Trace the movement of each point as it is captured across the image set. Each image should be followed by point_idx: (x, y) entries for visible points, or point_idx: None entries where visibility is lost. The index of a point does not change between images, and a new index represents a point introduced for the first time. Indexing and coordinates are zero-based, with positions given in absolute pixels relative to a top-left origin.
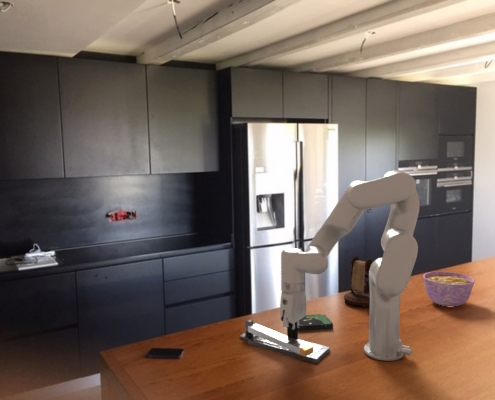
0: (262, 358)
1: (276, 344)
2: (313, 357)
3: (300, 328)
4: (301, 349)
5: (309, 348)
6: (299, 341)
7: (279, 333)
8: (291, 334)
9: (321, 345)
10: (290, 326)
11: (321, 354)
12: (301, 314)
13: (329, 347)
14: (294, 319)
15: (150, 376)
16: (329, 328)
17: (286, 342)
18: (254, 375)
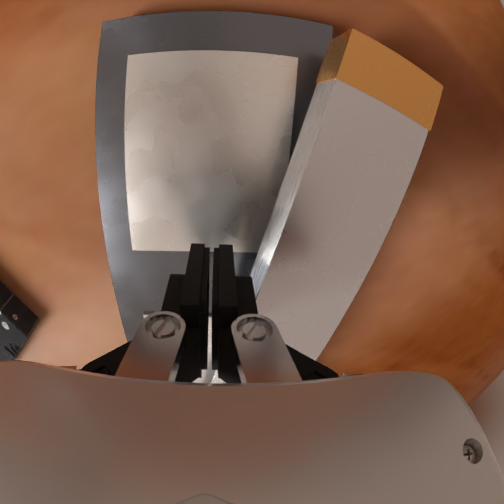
0: (374, 306)
1: None
2: (322, 46)
3: (12, 308)
4: (432, 116)
5: (400, 56)
6: (308, 185)
7: None
8: (252, 302)
9: (101, 79)
10: (314, 367)
11: (247, 12)
12: (122, 464)
13: (106, 22)
14: (426, 419)
15: (467, 394)
16: None
17: (366, 269)
18: (484, 256)
